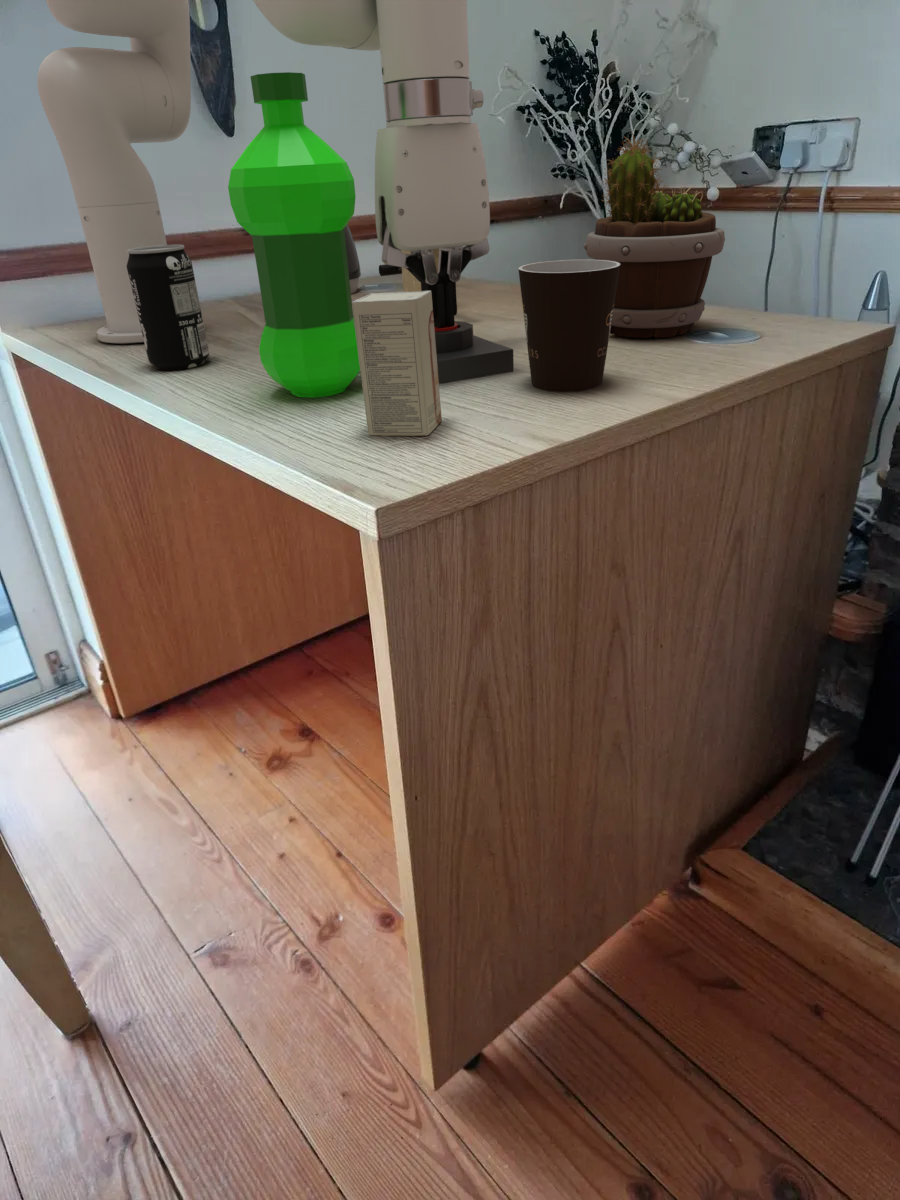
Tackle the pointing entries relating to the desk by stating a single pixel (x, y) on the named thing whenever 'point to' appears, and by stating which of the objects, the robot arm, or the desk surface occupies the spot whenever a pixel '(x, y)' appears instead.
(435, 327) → the button
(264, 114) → the plastic bottle
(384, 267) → the lever
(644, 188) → the flowerpot
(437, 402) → the medicine carton
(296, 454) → the desk surface
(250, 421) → the desk surface
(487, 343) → the control block
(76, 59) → the robot arm
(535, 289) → the coffee mug
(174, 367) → the beverage can
